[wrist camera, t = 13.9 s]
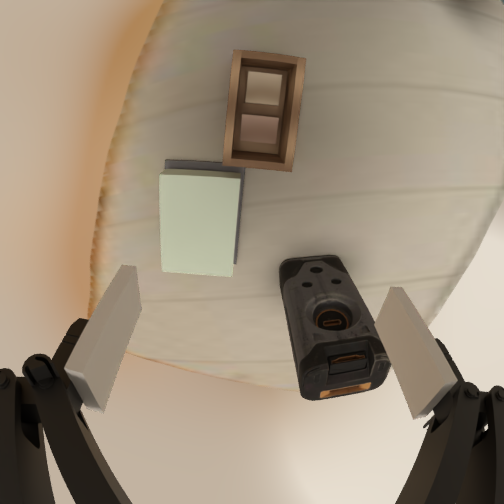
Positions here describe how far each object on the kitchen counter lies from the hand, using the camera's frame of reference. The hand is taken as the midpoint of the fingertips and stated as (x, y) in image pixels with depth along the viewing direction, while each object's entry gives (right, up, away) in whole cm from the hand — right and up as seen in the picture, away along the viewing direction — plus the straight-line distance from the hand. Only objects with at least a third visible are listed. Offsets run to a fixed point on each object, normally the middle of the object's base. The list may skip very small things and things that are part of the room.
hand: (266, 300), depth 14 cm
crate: (0, +19, +18) cm, 26 cm away
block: (-7, +6, +22) cm, 24 cm away
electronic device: (+8, -1, +29) cm, 30 cm away
